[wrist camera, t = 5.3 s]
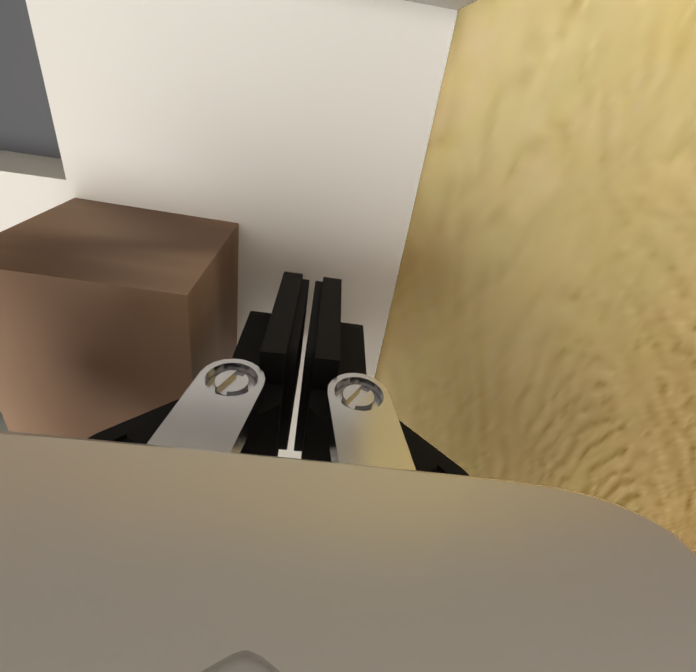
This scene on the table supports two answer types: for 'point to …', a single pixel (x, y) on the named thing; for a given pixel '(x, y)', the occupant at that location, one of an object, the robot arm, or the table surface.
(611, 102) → the table surface
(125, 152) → the tray
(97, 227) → the walnut block
